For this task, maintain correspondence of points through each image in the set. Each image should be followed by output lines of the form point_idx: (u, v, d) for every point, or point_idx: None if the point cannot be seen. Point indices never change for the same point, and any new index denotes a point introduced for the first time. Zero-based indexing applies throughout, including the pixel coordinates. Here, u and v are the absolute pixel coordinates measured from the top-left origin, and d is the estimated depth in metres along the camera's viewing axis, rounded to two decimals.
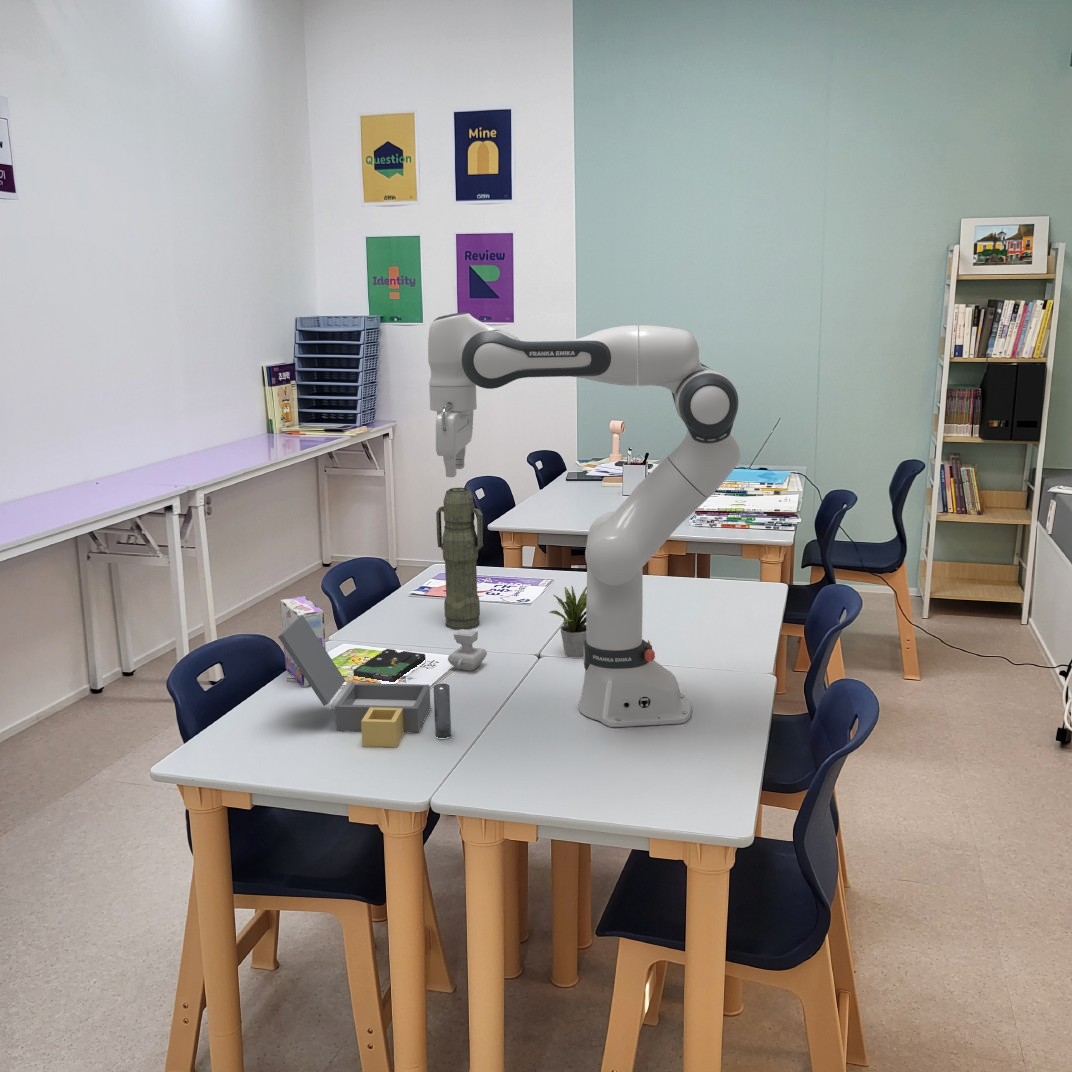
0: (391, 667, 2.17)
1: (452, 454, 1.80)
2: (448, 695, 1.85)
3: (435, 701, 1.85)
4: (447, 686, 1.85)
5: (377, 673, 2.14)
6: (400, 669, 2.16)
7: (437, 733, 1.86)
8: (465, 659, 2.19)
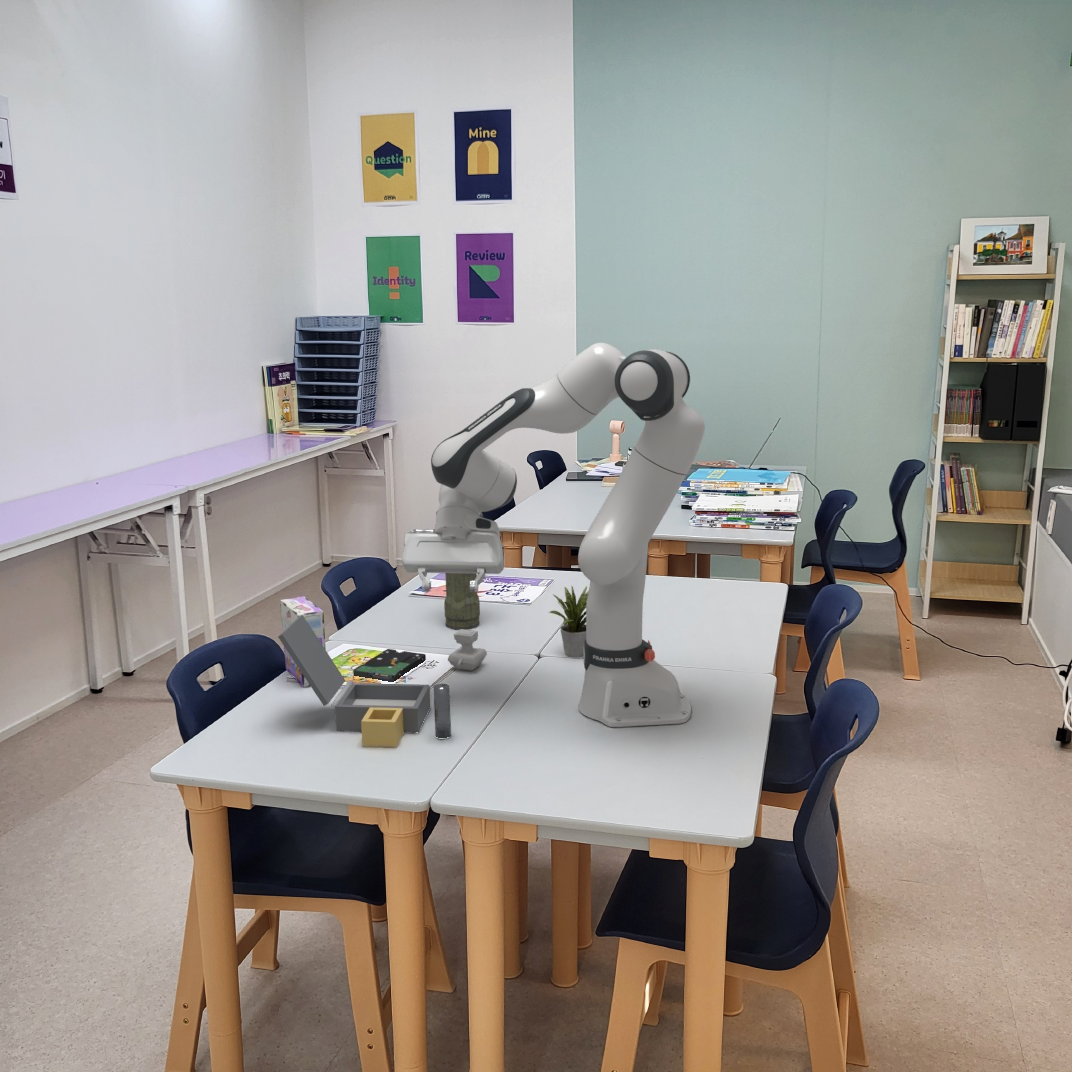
0: (390, 667, 2.17)
1: (403, 564, 1.95)
2: (448, 695, 1.85)
3: (435, 701, 1.85)
4: (447, 686, 1.85)
5: (377, 673, 2.14)
6: (400, 669, 2.16)
7: (437, 733, 1.86)
8: (465, 659, 2.19)
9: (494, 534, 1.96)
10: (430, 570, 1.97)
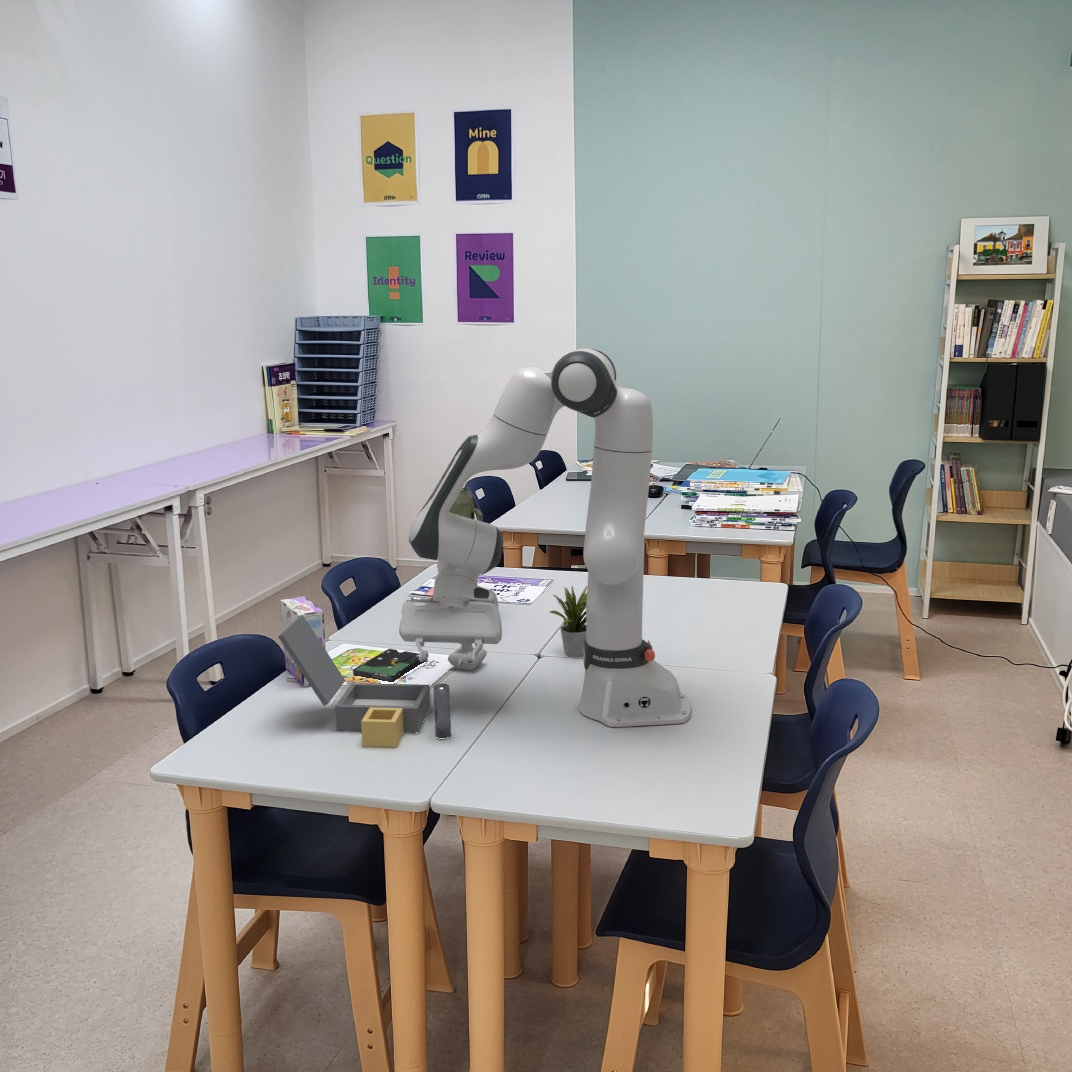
0: (390, 667, 2.17)
1: (400, 634, 1.94)
2: (448, 695, 1.85)
3: (435, 701, 1.85)
4: (447, 686, 1.85)
5: (376, 673, 2.14)
6: (399, 669, 2.16)
7: (437, 733, 1.86)
8: (465, 659, 2.19)
9: (492, 604, 1.95)
10: (428, 639, 1.96)
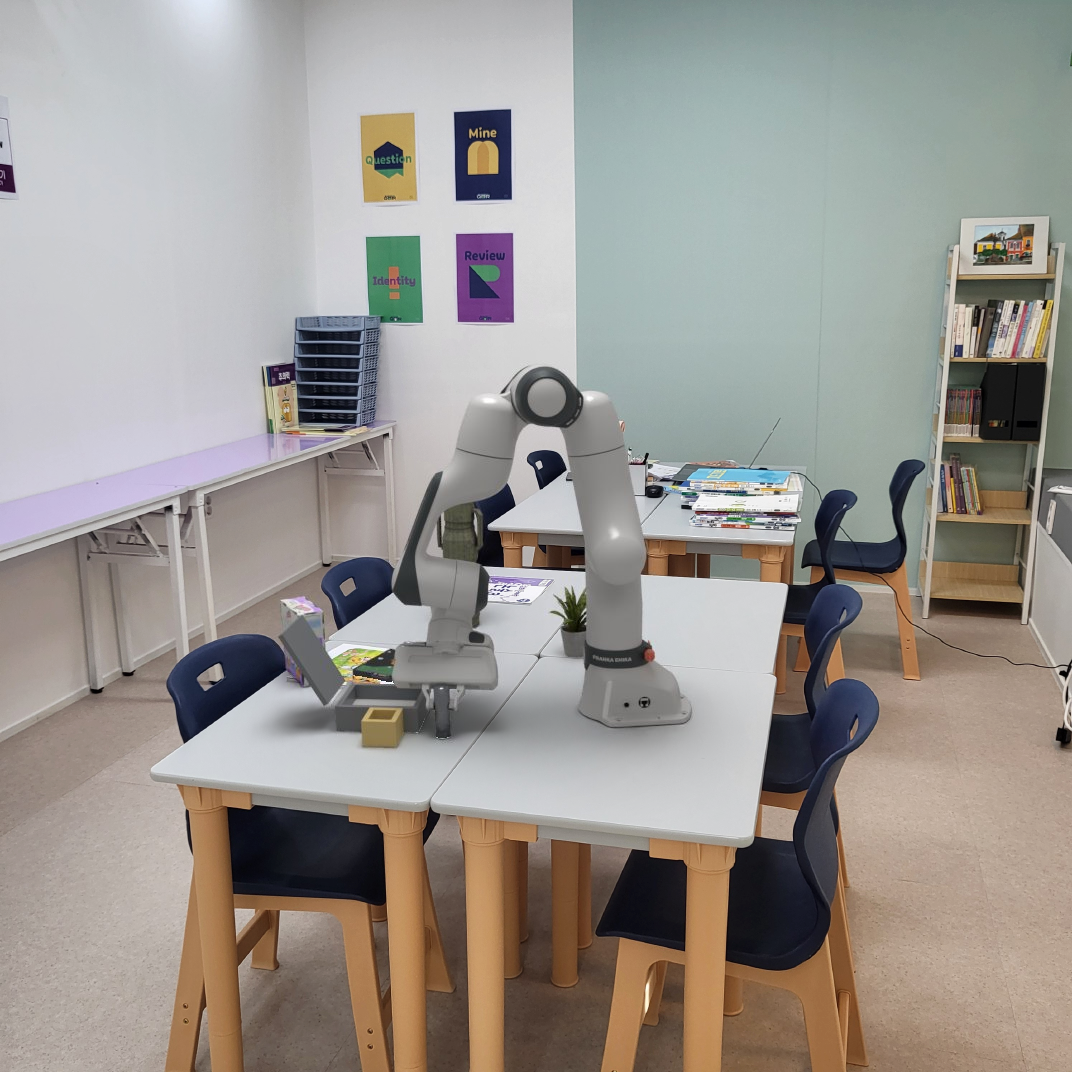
0: (390, 667, 2.17)
1: (393, 680, 1.88)
2: (448, 695, 1.85)
3: (435, 701, 1.85)
4: (447, 686, 1.85)
5: (375, 673, 2.14)
6: None
7: (437, 733, 1.86)
8: None
9: (488, 649, 1.89)
10: (421, 686, 1.90)
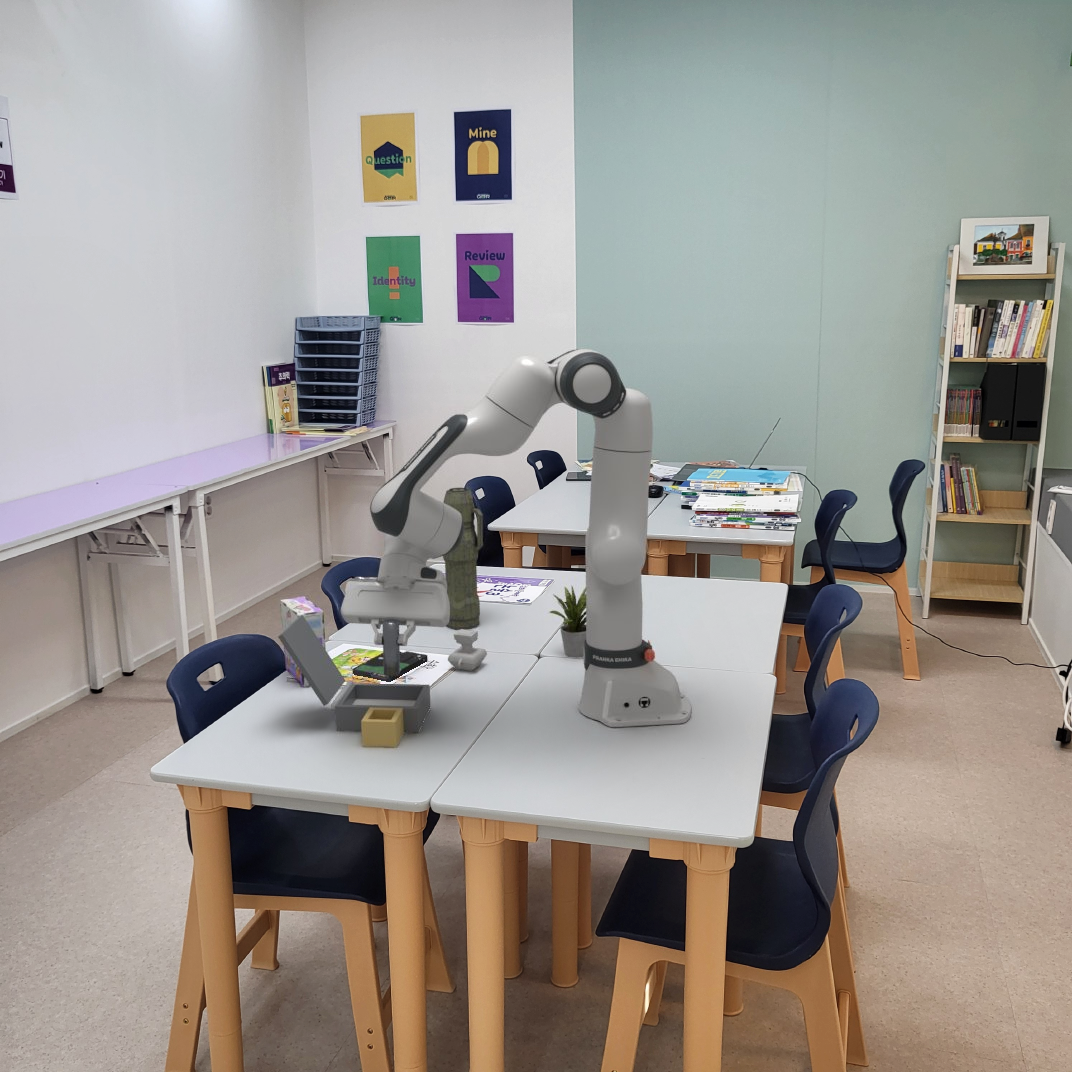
0: None
1: (342, 614, 1.84)
2: (397, 630, 1.81)
3: (384, 636, 1.81)
4: (396, 621, 1.81)
5: (375, 673, 2.15)
6: None
7: (385, 669, 1.82)
8: (465, 659, 2.19)
9: (440, 585, 1.85)
10: None
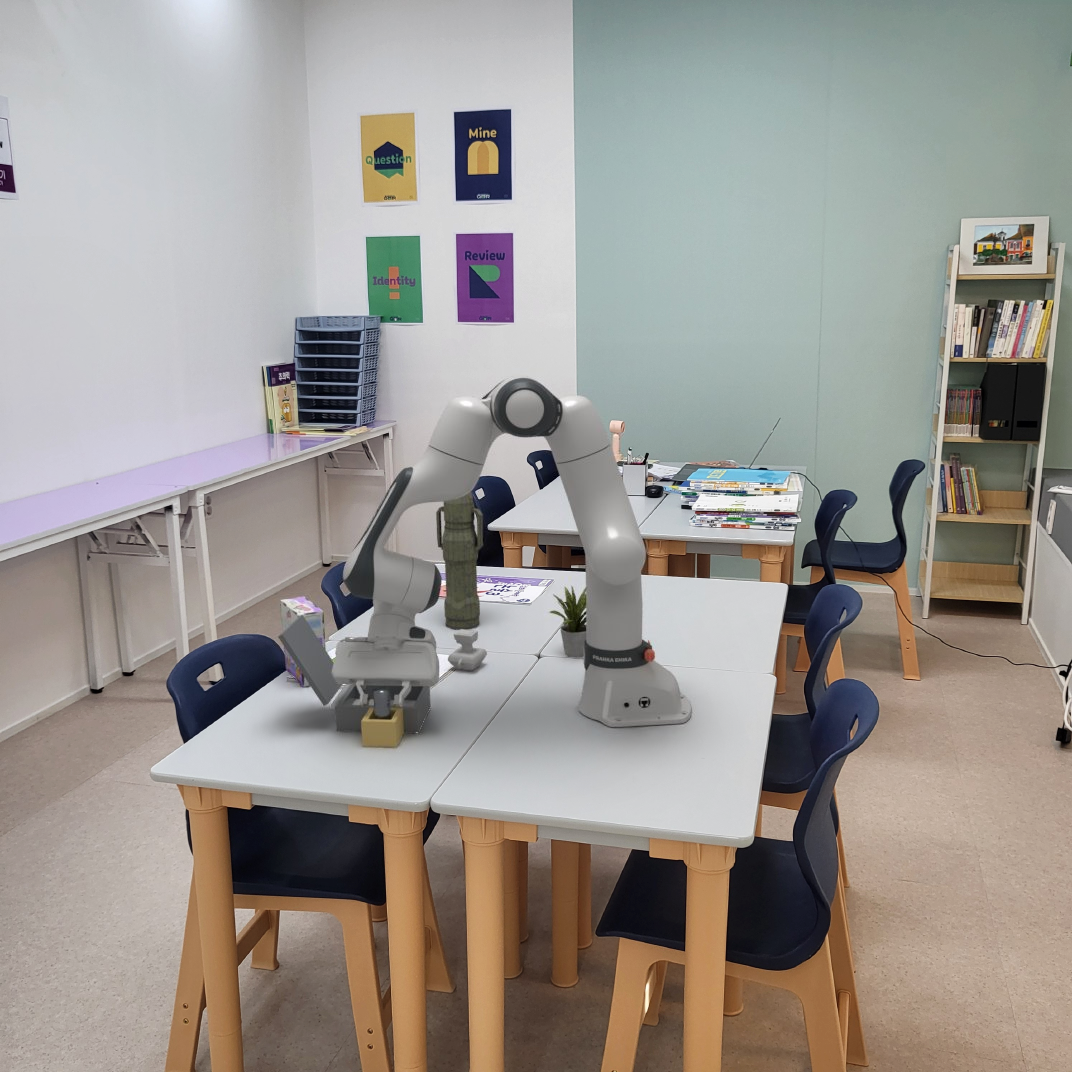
0: None
1: (333, 676, 1.87)
2: (388, 698, 1.84)
3: (375, 704, 1.84)
4: (387, 689, 1.84)
5: None
6: None
7: None
8: (465, 659, 2.19)
9: (428, 645, 1.87)
10: None
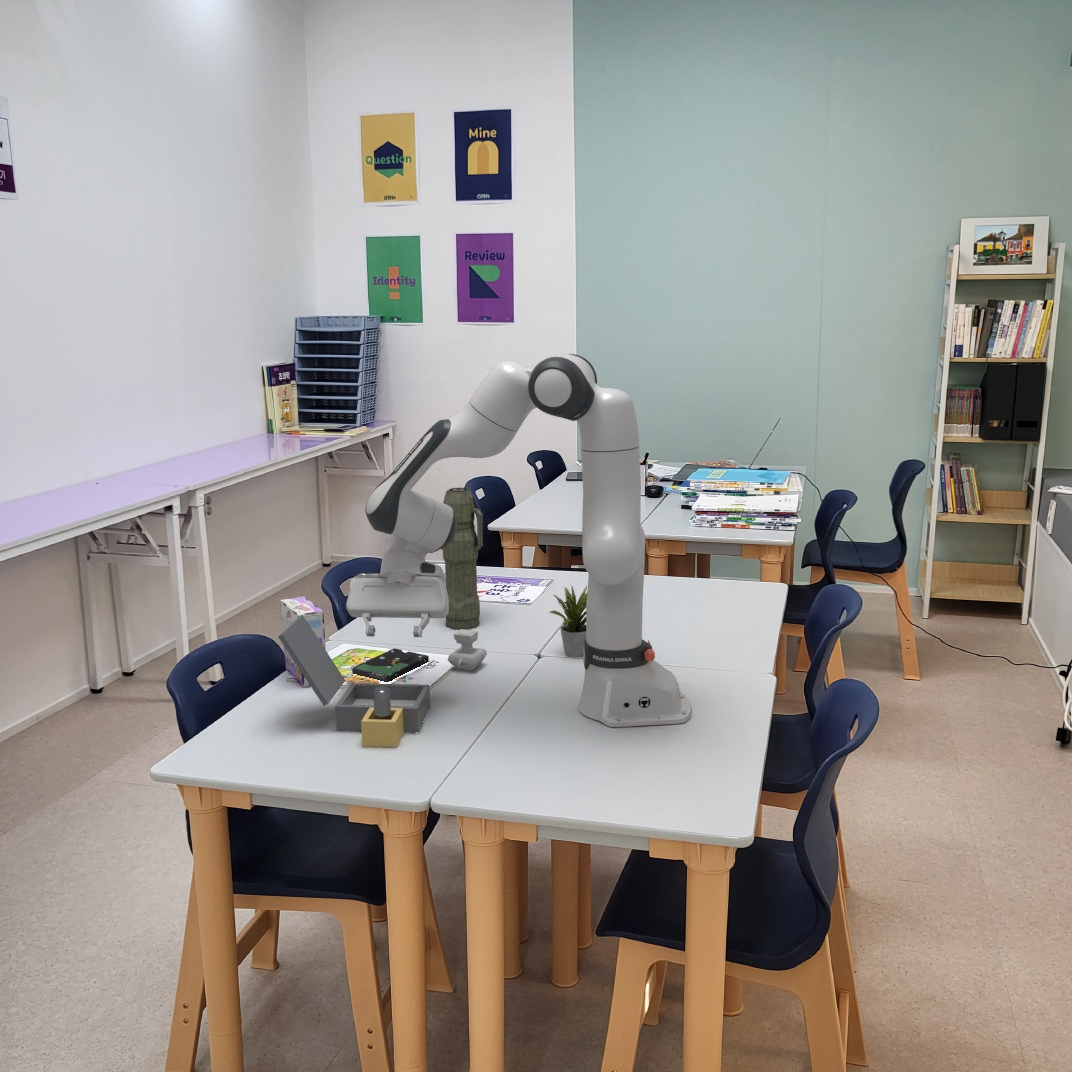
0: (389, 667, 2.17)
1: (348, 609, 1.96)
2: (388, 698, 1.84)
3: (375, 704, 1.84)
4: (387, 689, 1.84)
5: (373, 672, 2.15)
6: (397, 669, 2.16)
7: None
8: (465, 659, 2.19)
9: (438, 579, 1.96)
10: (375, 615, 1.97)
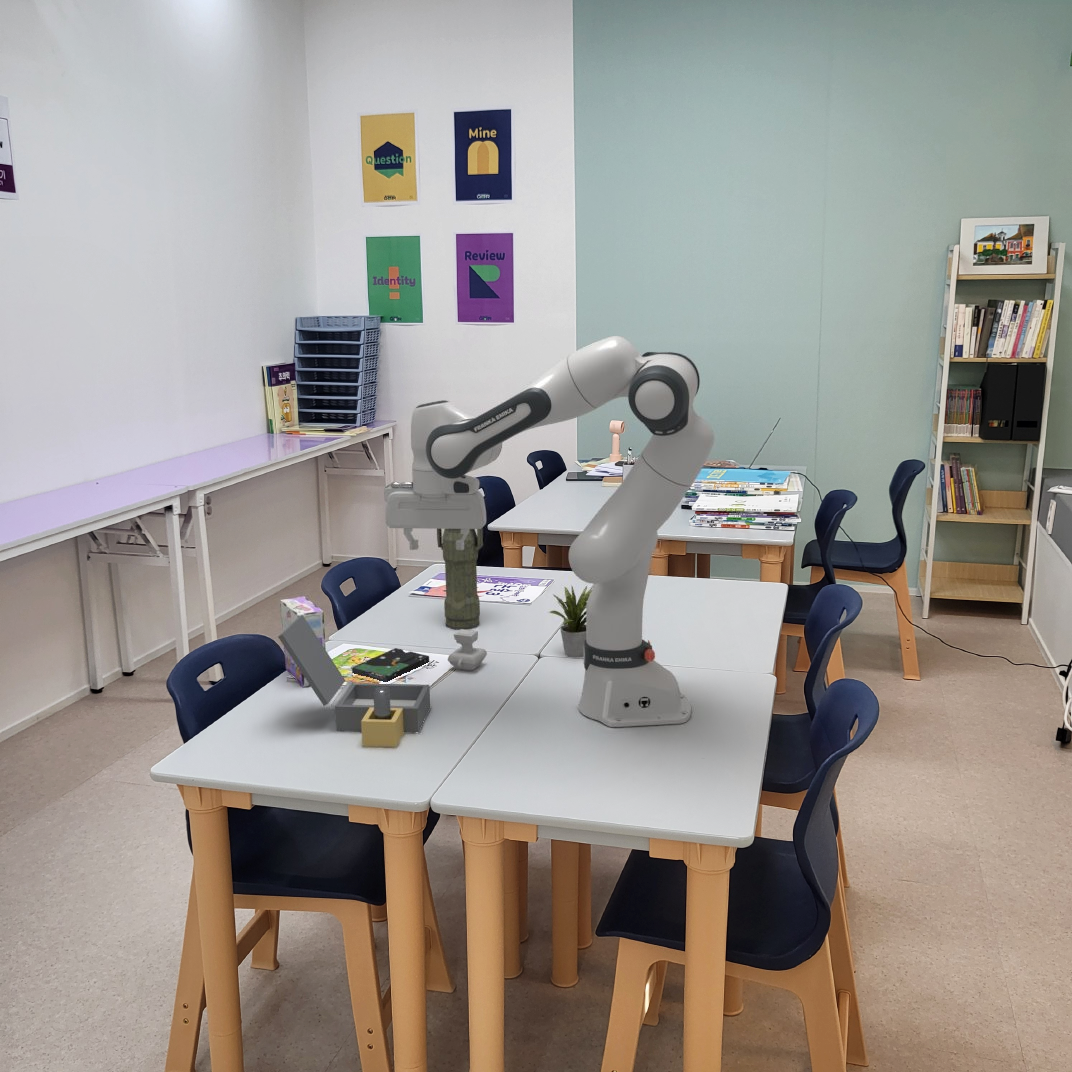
0: (388, 667, 2.17)
1: (388, 526, 2.00)
2: (388, 698, 1.84)
3: (375, 704, 1.84)
4: (387, 689, 1.84)
5: (373, 672, 2.15)
6: (396, 670, 2.16)
7: None
8: (465, 659, 2.19)
9: (473, 497, 1.95)
10: None
